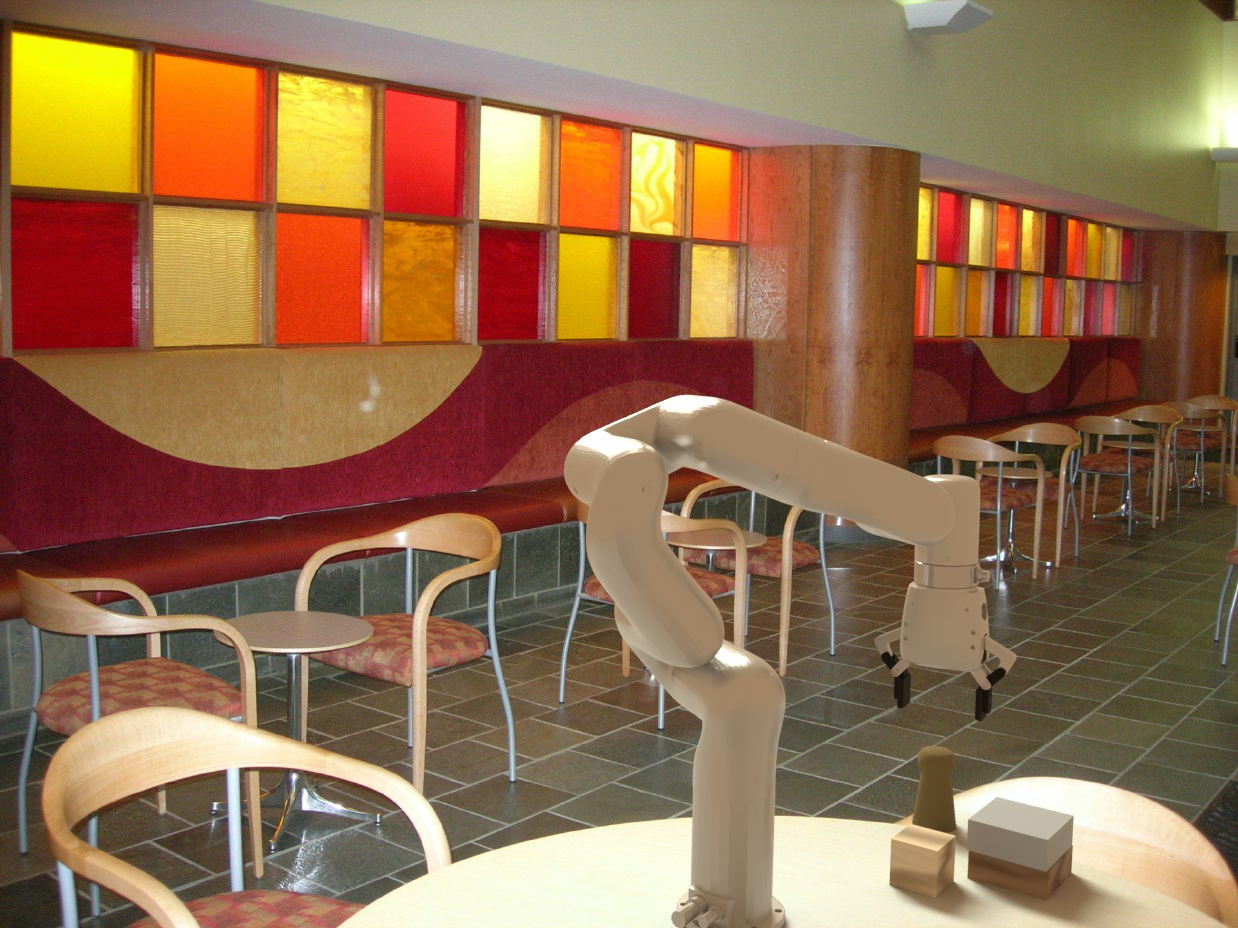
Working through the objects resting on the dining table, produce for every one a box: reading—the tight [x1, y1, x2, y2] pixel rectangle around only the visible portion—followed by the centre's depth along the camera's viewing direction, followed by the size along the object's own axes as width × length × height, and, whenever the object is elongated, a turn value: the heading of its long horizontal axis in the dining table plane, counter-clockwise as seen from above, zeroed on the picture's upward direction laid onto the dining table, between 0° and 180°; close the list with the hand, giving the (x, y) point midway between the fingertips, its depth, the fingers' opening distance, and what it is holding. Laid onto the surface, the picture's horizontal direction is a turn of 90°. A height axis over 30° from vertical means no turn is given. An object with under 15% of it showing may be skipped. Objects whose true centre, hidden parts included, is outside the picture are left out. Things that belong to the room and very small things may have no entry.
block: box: [888, 823, 957, 899], centre depth 149 cm, size 6×6×6 cm
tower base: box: [967, 844, 1074, 901], centre depth 152 cm, size 10×10×4 cm
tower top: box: [966, 796, 1075, 872], centre depth 152 cm, size 10×10×4 cm
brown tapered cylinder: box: [911, 745, 957, 833], centre depth 168 cm, size 6×6×11 cm
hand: (941, 711), depth 148 cm, fingers open, 9 cm apart
